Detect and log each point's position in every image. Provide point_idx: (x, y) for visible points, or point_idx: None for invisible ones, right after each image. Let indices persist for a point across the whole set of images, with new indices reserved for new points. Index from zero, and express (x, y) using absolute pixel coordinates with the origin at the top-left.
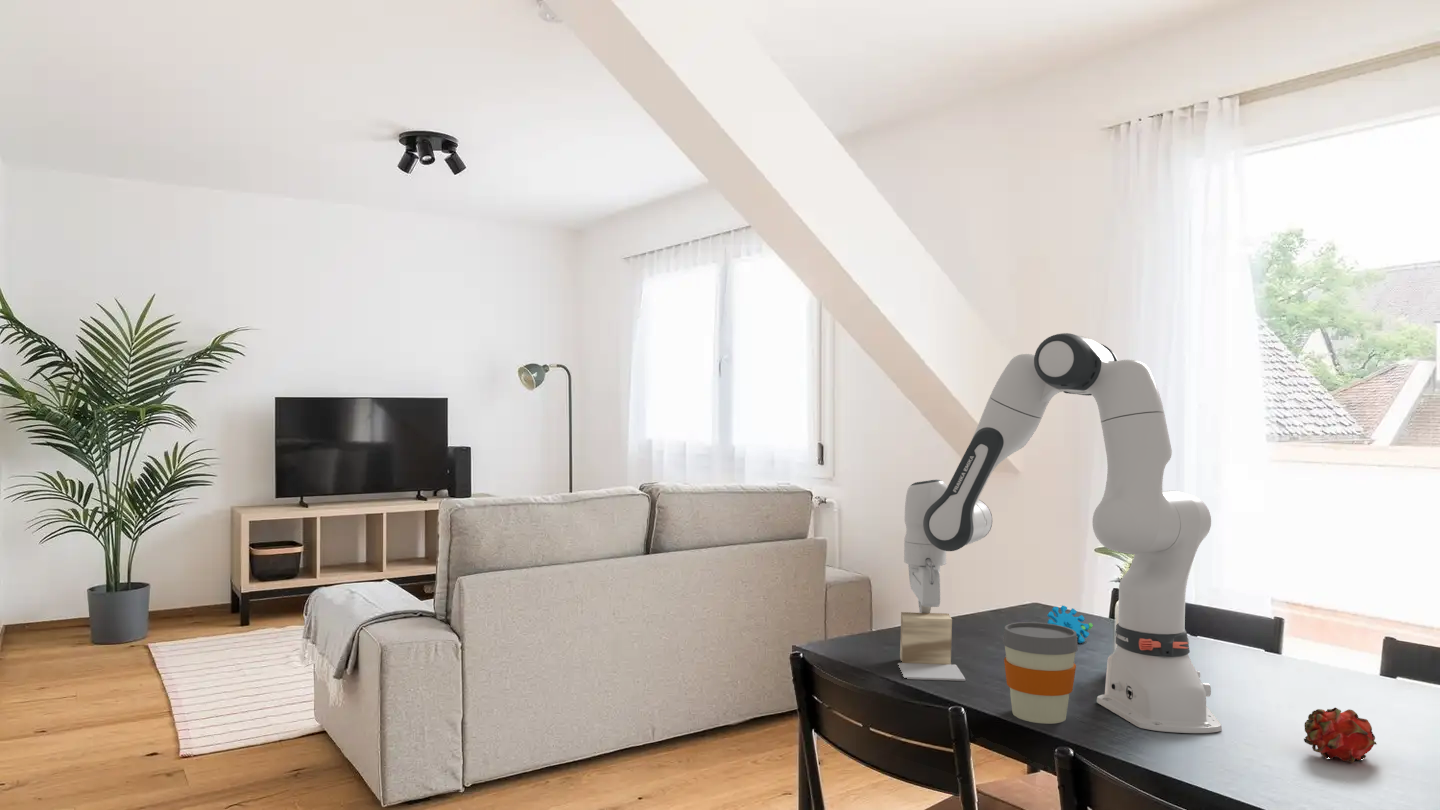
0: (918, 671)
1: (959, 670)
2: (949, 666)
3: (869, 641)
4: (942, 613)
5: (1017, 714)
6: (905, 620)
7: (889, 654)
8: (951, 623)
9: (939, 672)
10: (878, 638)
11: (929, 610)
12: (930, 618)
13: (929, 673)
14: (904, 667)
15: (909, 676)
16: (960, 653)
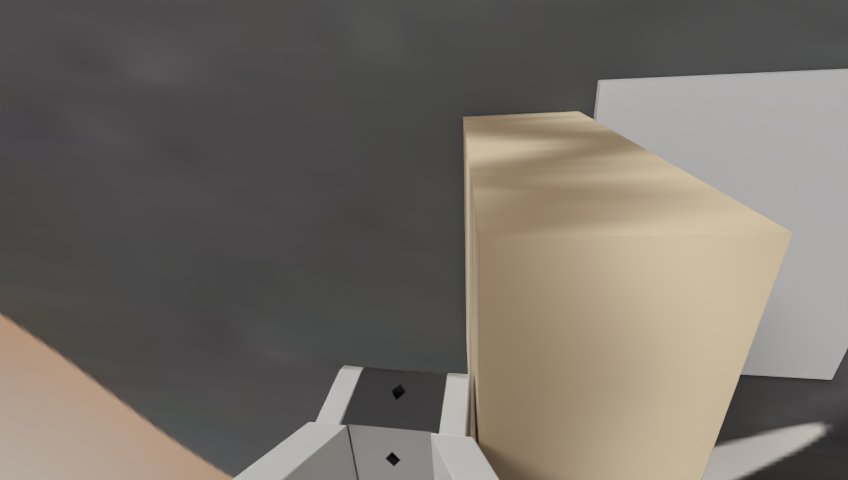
0: None
1: (753, 77)
2: (646, 130)
3: (207, 392)
4: (483, 317)
5: None
6: None
7: (389, 359)
8: (744, 211)
9: (780, 208)
10: (145, 358)
11: (493, 475)
12: (702, 460)
13: (790, 262)
14: None
15: (830, 358)
16: (269, 4)
